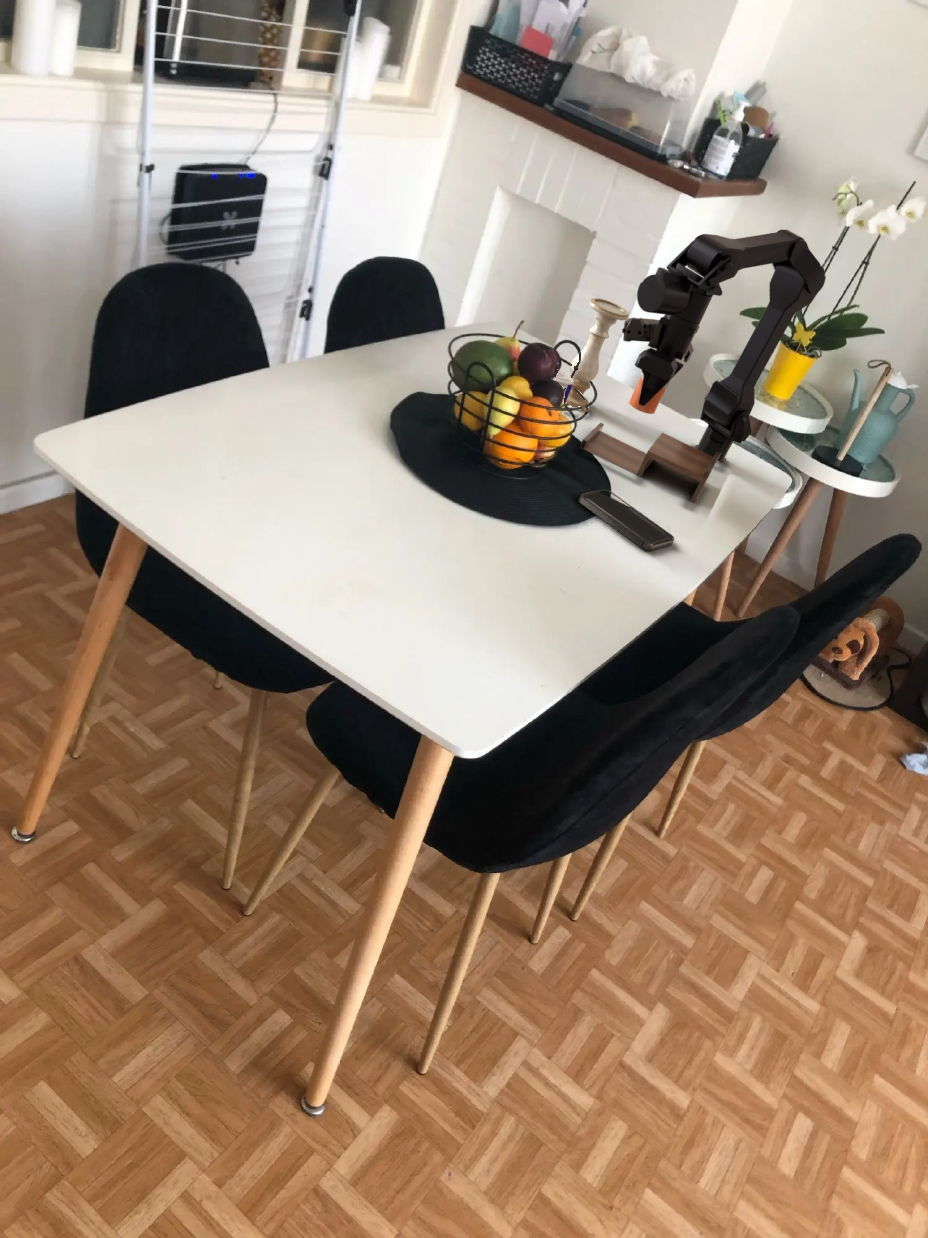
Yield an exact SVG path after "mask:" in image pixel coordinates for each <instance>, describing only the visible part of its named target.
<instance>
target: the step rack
mask: <svg viewBox="0 0 928 1238" xmlns="http://www.w3.org/2000/svg"><path fill="white" fill-rule="evenodd" d="M604 426H605V424H604V423H603V422H599V423H598V424H597V425H596V426H595V427H594V428H593V429H592V430H591V431H590V432H589V433H588V434H587V435H586V436H585V437H584V438H583V439H582V441H581V443H580V445H579V448H580V449H582V450H584V451H586V452H588V453H589V454H592V455H594V456H596V457H599V458H601V459H603V460H604V461H607V462H608V463H611V464H613V465H615V466H617V467H619V468H621V469H623V470H625V471H627V472H629V473H631V474H633V475H635V476H638V477H639V478H641V477H642V476H643V474H644V473H645V472H646V470H647V469H648V468H649V466H650V465H652V462H653V461H656V462H659V463H660V464H662V465H664V466H666V467H668V468H669V469H670V468H671V469H672V470H675V471H677V472H679V473H681V474H682V475H685V476H687V477H689V478H690V479H693V480H695V481H697V482H699V483H698V485H697V487H696V489H695V491H694V492H693V495H692V497H691V499H690V501H689V502H690V503H693V504H695V503H696V501H697V499H698V497H699V496H700V494H701V492H702V491H703V489H704V487H705V485H706V483H707V481H708V480H709V477H710V476H711V474H712V472H713V471H714V468H715V466H716V464H717V463H718V461H717V460H718V458H719V457H720V455H721V453H719V452H716V454H715V456H714V457H712V456H710V455H708V454H706V453H704V452H702V451H700V450H698V449H696V448H695V446H691V445H690V444H687V443H685V442H684V441H681V440H679V439H676V438H675V437H673V436H671V435H669V434H667V433H664V432H661V433H660V435H659V436H658V437H657V438H656V440H655V441H654V442H653V444H652V445H651V446H650V447H649V449H647V451H646V452H644V451H643V450H640V449H638V448H636V447H634V446H632V445H630V444H628V443H625V442H624V441H622V440H620V439H617V438H615V437H613V436H611V435H609V434H608V433H605V432H604V431H603V428H604Z"/></svg>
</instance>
